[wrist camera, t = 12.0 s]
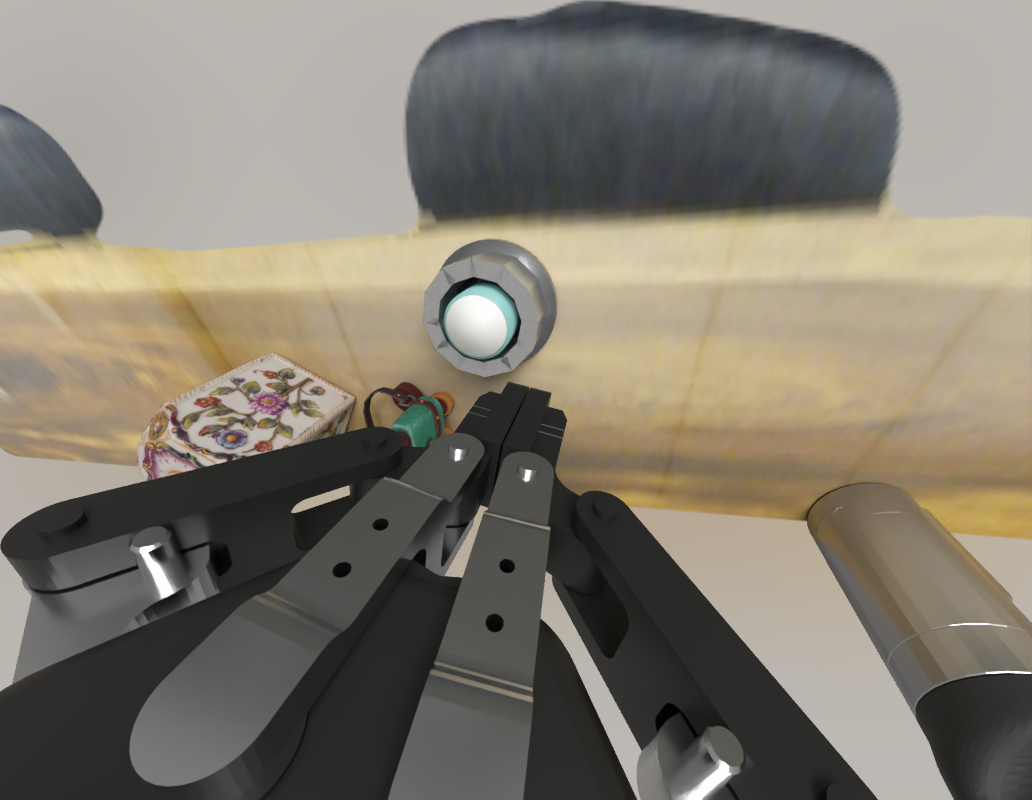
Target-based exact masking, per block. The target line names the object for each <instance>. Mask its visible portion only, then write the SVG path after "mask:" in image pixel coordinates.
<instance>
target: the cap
mask: <svg viewBox="0 0 1032 800" xmlns="http://www.w3.org/2000/svg"><path fill="white" fill-rule="evenodd" d="M521 322H522V321H521V318H520V315H519V312H518V309H517V306H516V303H515V300H514V299H513V298H512V297H511V296H510V295H509V294H508V293H507V292H506V291H505V290H504V289H503V288H502V287H501V286H500V285H499V284H497V283H496V282H493V281H489V280H485V279H482V280H480V281H478V282H476V283H475V284H473V285H472V286H470V287H469V288H468V289H466V290H465V291H463V292H462V293H460V294H459V295H457V296H456V297H455V298H453V299H452V300H451V302H450V303H449V304H448V306H447V308H446V311H445V315H444V327H445V331H446V334H447V336H448V338H449V340H450V342H451V343H452V344H453V346H454V347H455V348H456V349H457V350H459V351H460V352H461V353H463V354H465V355H467V356H469V357H472V358H476V359H487V358H491V357H494V356H496V355H497V354H499V353H500V352H501V351H502V350H503V349H504V348H505V347H506V345H507V344H508V343H509V341H510V340H511V338H512V337H513V335H514V334H515V332H516V331H517V330H518V328H519V327H520V325H521Z"/></svg>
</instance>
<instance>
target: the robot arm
mask: <svg viewBox="0 0 1032 800" xmlns="http://www.w3.org/2000/svg"><path fill="white" fill-rule="evenodd" d="M550 398H551V393H550V392H546V391H543V390H539V389H535V388H530V390H529V387H527V386H523V385H520V384H516V383H512V382H508V383H507V385H506V387H505V388H504V390H503V391H502V393H501V394H498V393H494V392H491V391H490V392H488V393H486V394H484V395H482V396H480V397H479V398H478V400H477V401H476V402H475V404H474V406H473V407H472V408H471V409H470V411H469V413H468V414H467V415H466V416H465V418H464V419H463V421H462V422H461V424H460V425H459V426H458V428H457V429H456V431H455V432H454V433H448V434H445V435H442V436H440V437H439V438H437V439H436V440H435V441H434V442H433V443H432V445H431V446H430V447H412V446H403V440H402V437H401V436H400V434H399V433H397V432H396V431H394V430H392V429H389V428H385V427H368V428H363V429H359V430H355V431H351V432H347V433H343V434H338V435H334V436H330V437H326V438H322V439H318V440H314V441H309V442H305V443H301V444H297V445H293V446H289V447H285V448H281V449H276V450H272V451H268V452H264V453H260V454H256V455H252V456H248V457H243V458H239V459H235V460H231V461H227V462H223V463H219V464H215V465H210V466H206V467H202V468H198V469H194V470H190V471H186V472H182V473H177V474H173V475H169V476H165V477H161V478H157V479H153V480H149V481H144V482H140V483H137V484H132V485H128V486H124V487H120V488H116V489H111V490H107V491H103V492H99V493H95V494H91V495H87V496H83V497H79V498H74V499H70V500H67V501H63V502H59V503H56V504H54V505H50V506H48V507H46V508H43V509H41V510H39V511H37V512H35V513H33V514H31V515H29V516H28V517H26V518H24V519H22V520H21V521H20V522H18V523H17V524H16V525H14V526H13V527H12V528H11V529H10V530H9V531H8V532H7V533H6V534H5V536H4V537H3V539H2V541H1V551H2V553H3V554H4V555H5V557H6V558H7V559H8V561H9V562H10V563H11V565H12V566H13V567H14V568H15V570H16V571H17V572H18V574H19V575H20V576H21V577H22V583H23V585H24V587H25V588H26V590H27V591H28V592H29V593H30V595H31V596H32V598H31V603H30V608H29V612H28V616H27V621H26V625H25V629H24V634H23V638H22V643H21V647H20V652H19V656H18V661H17V665H16V669H15V674H14V678H13V683H12V685H10V686H8V687H7V688H5V689H3V690H2V691H0V800H637V798H636V796H635V794H634V792H633V790H632V788H631V785H630V783H629V781H628V779H627V777H626V775H625V772H624V770H623V768H622V766H621V764H620V762H619V759H618V757H617V755H616V753H615V751H614V749H613V747H612V744H611V742H610V740H609V738H608V736H607V734H606V731H605V729H604V727H603V725H602V723H601V721H600V718H599V716H598V714H597V712H596V710H595V708H594V706H593V703H592V702H591V699H590V697H589V695H588V692H587V690H586V688H585V686H584V684H583V682H582V680H581V677H580V675H579V673H578V671H577V669H576V666H575V664H574V662H573V660H572V658H571V656H570V654H569V653H568V651H567V649H566V648H565V646H564V644H563V643H562V641H561V640H560V639H559V638H558V636H557V635H556V634H555V632H554V631H553V630H552V629H551V628H550V627H549V626H548V625H547V624H546V623H545V622H544V621H543V620H542V619H540V618H541V609H542V600H543V591H544V583H545V574H546V571H547V572H548V573H549V574H551V575H552V582H553V586H554V588H555V590H556V592H557V594H558V596H559V598H560V600H561V602H562V603H563V605H564V607H565V609H566V611H567V613H568V614H569V616H570V618H571V620H572V622H573V624H574V626H575V628H576V629H577V631H578V633H579V635H580V637H581V639H582V641H583V642H584V644H585V646H586V648H587V650H588V652H589V654H590V655H591V657H592V659H593V661H594V663H595V665H596V666H597V668H598V670H599V672H600V674H601V675H602V677H603V680H604V681H605V683H606V685H607V687H608V688H609V691H610V693H611V694H612V696H613V698H614V700H615V702H616V703H617V706H618V707H619V709H620V711H621V713H622V715H623V717H624V718H625V720H626V722H627V724H628V726H629V728H630V729H631V732H632V733H633V735H634V737H635V739H636V741H637V743H638V744H639V746H640V748H641V750H642V752H641V754H640V756H639V760H638V764H637V784H638V791H639V794H640V798H641V800H878V799H877V798H876V797H875V795H874V794H873V793H872V792H871V790H870V789H869V788H868V787H867V786H866V785H865V783H864V782H863V781H862V780H861V779H860V778H859V776H858V775H857V774H856V773H855V772H854V771H853V769H852V768H851V767H850V766H849V765H848V764H847V762H846V761H845V760H844V759H843V758H842V756H841V755H840V754H839V753H838V752H837V751H836V750H835V748H834V747H833V746H832V745H831V744H830V743H829V741H828V740H827V739H826V738H825V737H824V735H823V734H822V733H821V732H820V731H819V730H818V728H817V727H816V726H815V725H814V724H813V723H812V721H811V720H810V719H809V718H808V717H807V716H806V714H805V713H804V712H803V711H802V710H801V709H800V707H799V706H798V705H797V704H796V703H795V701H794V700H793V699H792V698H791V697H790V696H789V694H788V693H787V692H786V691H785V690H784V689H783V688H782V686H781V685H780V684H779V683H778V682H777V680H776V679H775V678H774V677H773V676H772V675H771V673H770V672H769V671H768V670H767V669H766V668H765V666H764V665H763V664H762V663H761V662H760V661H759V659H758V658H757V657H756V656H755V655H754V654H753V652H752V651H751V650H750V649H749V648H748V647H747V645H746V644H745V643H744V642H743V641H742V640H741V638H740V637H739V636H738V635H737V634H736V633H735V631H734V630H733V629H732V628H731V627H730V625H729V624H728V623H727V622H726V621H725V620H724V618H723V617H722V616H721V615H720V614H719V613H718V611H717V610H716V609H715V608H714V607H713V606H712V604H711V603H710V602H709V601H708V600H707V599H706V597H705V596H704V595H703V594H702V593H701V592H700V590H699V589H698V588H697V587H696V586H695V584H694V583H693V582H692V581H691V580H690V579H689V577H688V576H687V575H686V574H685V573H684V572H683V571H682V570H681V568H680V567H679V566H678V565H677V564H676V563H675V561H674V560H673V559H672V558H671V556H670V555H669V554H668V553H667V552H666V551H665V550H664V548H663V547H662V546H661V545H660V544H659V542H658V541H657V540H656V539H655V538H654V537H653V535H652V534H651V533H650V532H649V531H648V530H647V528H646V527H645V526H644V525H643V524H642V523H641V521H640V520H639V519H638V518H637V517H636V516H635V514H634V513H633V512H632V511H631V510H630V508H629V507H628V506H627V505H626V504H625V503H624V502H623V501H622V500H620V499H619V498H617V497H616V496H614V495H612V494H609V493H606V492H602V491H588V492H585V493H583V494H582V495H581V496H579V495H577V494H575V493H574V492H572V491H570V490H569V489H567V488H566V487H565V486H564V485H563V484H562V483H561V482H560V481H559V479H558V477H557V475H556V472H555V467H556V463H557V459H558V455H559V451H560V447H561V443H562V438H563V434H564V430H565V426H566V422H567V419H566V417H565V415H564V412H563V411H562V410H558V409H554V408H551V407H549V403H550ZM348 485H349V486H350V495H349V496H346V497H343V498H340V499H337V500H334V501H331V502H328V503H325V504H322V505H319V506H316V507H313V508H310V509H307V510H304V511H301V512H298V513H291V511H292V509H293V507H294V506H295V505H296V504H298V503H299V502H301V501H302V500H304V499H307V498H310V497H314V496H317V495H320V494H323V493H326V492H329V491H332V490H335V489H338V488H341V487H344V486H348ZM480 505H481V506H485V507H488V510H487V511H485V512H484V514H483V517H482V520H481V523H480V526H479V529H478V532H477V535H476V538H475V542H474V544H473V547H472V550H471V553H470V557H469V560H468V563H467V566H466V569H465V572H464V575H463V578H459V577H448V576H445V574H446V572H447V570H448V568H449V566H450V565H451V563H452V561H453V560H454V558H455V556H456V554H457V553H458V551H459V549H460V547H461V545H462V544H463V542H464V540H465V538H466V537H467V535H468V533H469V531H470V530H471V528H472V525H473V521H474V517H475V515H476V514H477V511H478V509H479V507H480ZM807 523H808V524H807V525H808V528H809V531H810V533H811V535H812V537H813V538H814V540H815V542H816V544H817V545H818V547H819V549H820V551H821V552H822V554H823V556H824V558H825V560H826V562H827V563H828V565H829V567H830V569H831V570H832V572H833V574H834V576H835V577H836V579H837V581H838V583H839V584H840V586H841V588H842V590H843V591H844V593H845V595H846V597H847V598H848V600H849V602H850V604H851V606H852V607H853V609H854V611H855V613H856V614H857V616H858V618H859V620H860V621H861V623H862V625H863V626H864V628H865V630H866V632H867V633H868V635H869V637H870V639H871V641H872V642H873V644H874V646H875V648H876V649H877V651H878V653H879V655H880V656H881V658H882V660H883V662H884V663H885V665H886V667H887V668H888V670H889V672H890V674H891V676H892V677H893V679H894V681H895V682H896V684H897V686H898V688H899V689H900V691H901V693H902V695H903V696H904V698H905V700H906V702H907V703H908V705H909V707H910V709H911V711H912V712H913V714H914V716H915V718H916V719H917V721H918V723H919V725H920V727H921V729H922V730H923V732H924V734H925V736H926V738H927V739H928V741H929V743H930V746H931V749H932V751H933V755H934V758H935V760H936V763H937V766H938V768H939V771H940V773H941V775H942V777H943V779H944V781H945V783H946V785H947V787H948V789H949V791H950V793H951V795H952V797H953V798H954V800H1032V623H1031V622H1030V621H1029V620H1028V619H1027V618H1026V617H1025V615H1024V614H1023V613H1022V612H1021V611H1020V610H1019V609H1018V608H1017V607H1016V606H1015V605H1014V604H1013V603H1012V597H1011V595H1010V594H1009V593H1008V592H1007V591H1006V590H1005V589H1004V588H1003V587H1002V586H1001V585H1000V584H999V583H998V581H996V580H995V578H994V577H992V575H990V573H989V572H988V571H987V570H986V569H985V568H984V567H983V566H982V565H981V564H980V563H979V562H978V561H977V560H976V559H975V558H974V557H973V556H972V555H971V554H970V553H969V552H968V551H967V550H966V549H965V548H964V547H963V546H962V545H961V543H960V542H959V541H958V540H957V539H955V537H953V535H952V534H951V533H950V532H949V531H948V530H947V529H946V528H945V527H944V526H943V525H942V524H941V523H940V522H939V521H938V520H937V519H936V518H935V517H934V516H933V515H932V514H931V513H930V512H929V511H928V510H925V509H922V507H921V506H920V505H919V504H918V503H917V502H916V501H915V500H914V499H913V498H912V497H911V496H909V495H908V494H907V493H906V492H904V491H902V490H900V489H898V488H896V487H892V486H889V485H884V484H876V483H865V484H856V485H850V486H846V487H843V488H840V489H837V490H835V491H833V492H831V493H828V494H827V495H825V496H824V497H822V498H821V499H820V500H819V501H818V502H817V503H816V504H815V505H814V506H813V507H812V509H811V510H810V512H809V515H808V518H807Z"/></svg>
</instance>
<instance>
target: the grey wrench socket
mask: <svg viewBox="0 0 1032 800" xmlns="http://www.w3.org/2000/svg"><path fill="white" fill-rule="evenodd" d="M482 279H485V280H489V281H493V282H496V283H497V284H499V285H500V286H501V287H502V288H503V289H504V290H505V291H506V292H507V293H508V294H509V295H510V296H511V297H512V298H513V299H514V300H515V303H516V306H517V309H518V312H519V315H520V318H521V321H522V322H521V325H520V327H519V328H518V330H517V331H516V332H515V334H514V335H513V337H512V338H511V340H510V341H509V343H508V344H507V345H506V347H505V348H504V349H503V350H502V351H501V352H500V353H499V354H497V355H496V356H494V357H491V358H487V359H476V358H472V357H469V356H467V355H465V354H463V353H461V352H460V351H459V350H457V349H456V348H455V347H454V346H453V344H452V343H451V342H450V340H449V338H448V336H447V334H446V331H445V327H444V315H445V311H446V308H447V306H448V304H449V303H450V302H451V300H452V299H453V298H455V297H456V296H457V295H459V294H460V293H462V292H463V291H465V290H466V289H468V288H469V287H470V286H472V285H473V284H475V283H476V282H478V281H480V280H482ZM556 314H557V298H556V292H555V288H554V285H553V282H552V279H551V278H550V276H549V274H548V272H547V270H546V269H545V267H544V266H543V264H542V263H541V262H540V261H539V260H538V259H537V258H536V257H535V256H534V255H533V254H532V253H531V252H529V251H528V250H526V249H525V248H523V247H521V246H519V245H517V244H515V243H512V242H509V241H506V240H500V239H485V240H479V241H476V242H472V243H470V244H467V245H465V246H463V247H461V248H460V249H458V250H457V251H455V252H454V253H453V254H452V255H451V256H450V257H449V258H448V259H447V260H446V262H445V263H444V265H443V266H442V268H441V269H440V272H439V273H438V274H437V276H436V277H435V279H434V280H433V281H432V283H431V284H430V286H429V287H428V288H427V290H426V291H425V298H424V313H423V323H424V326H425V328H426V330H427V332H428V335H429V337H430V339H431V342H432V344H433V346H434V348H435V350H436V351H437V352H438V353H439V354H440V355H442V356H443V357H444V358H445V359H446V360H447V361H449V362H450V363H451V364H452V365H453V366H454V367H455V368H457V369H458V370H461V371H465V372H469V373H472V374H476V375H479V376H483V377H488V376H492V375H497V374H501V373H505V372H510V371H513V370H514V369H515V368H516V367H517V366H518V365H519V364H520V363H521V362H522V361H525V360H527V359H528V358H530V357H532V356H533V355H534V354H535V353H537V352H538V351H539V350H540V349H541V348H542V347H543V345H544V344H545V343H546V341H547V340H548V338H549V336H550V334H551V332H552V329H553V327H554V324H555V320H556Z"/></svg>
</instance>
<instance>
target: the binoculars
mask: <svg viewBox="0 0 1032 800" xmlns="http://www.w3.org/2000/svg"><path fill="white" fill-rule="evenodd" d="M377 392H381V393H385V394H388V395H390V396H391V397H392V398H393V400H394V402H395V404H396V405H397V406H398V407H399V408H401V409H402V410H404V411H405V412H404V413H403V414H402V415H401V416H400V417H399V418H398V419H397V420H396V421H395V422H394V423H393V424H392V426H391V429H392V430H394V431H396V432H397V433H399V434H400V436H401V437H402V440H403V446H412V447H430V446H431V445H432V443H433V442H434V441H435V440H436V439H437V438H439V437H440V436H442V435H445V434H448V433H453V432H452V431H451V430H450V429H449V428H447V427H444V416H446V415H448V414H449V413H450V411H451V410H452V409H453V408H454V400H453V398H452V397H451V396H450V395H449V394H447V393H444V392H438V393H435V394H433V395H432V396H431V397H427V396H423V395H422V393H421V392H420V391H419V390H418V389H417V388H416V387H415V386H414V385H412V384H410V383H407V382H403V383H401V384H400V385H398V386H397V387H396V388H395V389H389V388H385V387H383V388H380V389H377V390H375V391H374V392H372V393H371V394H370V395H369V397H368V398H367V399H366V400H365V402H364V410H363V413H364V418H365V423H366V426H367V428H368V427H374V424H373V421H372V418H371V413H370V401H371V398H372V396H373V395H374V394H375V393H377Z"/></svg>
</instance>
